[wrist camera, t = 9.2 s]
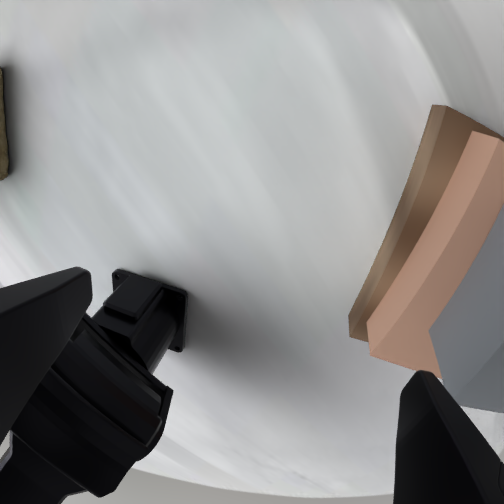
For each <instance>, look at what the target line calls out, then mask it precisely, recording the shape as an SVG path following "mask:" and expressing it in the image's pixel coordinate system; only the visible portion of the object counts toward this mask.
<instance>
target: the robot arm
mask: <svg viewBox="0 0 504 504" xmlns="http://www.w3.org/2000/svg"><path fill="white" fill-rule="evenodd" d="M118 275H119V277H118ZM112 282H113V293H112V294H111V295H110V296H109V297H108V298H107V299H106V300H105V301H104V303H103V306H102V307H101V308H100V309H99V310H98V311H97V312H96V314H95V315H94V316H93V317H92V318H91V317H90V316H89V315H88V314H87V313H86V310H87V309H88V307H89V305H90V303H91V301H92V296H93V294H92V281H91V274H90V272H89V271H88V270H86V269H83V268H81V267H73V268H70V269H66V270H62V271H59V272H55V273H52V274H48V275H45V276H41V277H38V278H34V279H31V280H27V281H24V282H20V283H17V284H14V285H10V286H7V287H4V288H0V445H1V444H2V442H3V440H4V439H5V437H6V435H7V433H8V432H9V430H10V447H9V448H8V449H7V451H6V452H5V453H4V455H3V456H2V457H1V459H0V504H61V503H62V502H63V500H64V499H65V498H66V497H67V496H69V495H74V494H78V493H82V492H86V491H89V492H90V493H92V494H94V495H95V496H97V497H103V496H105V495H107V494H109V493H112V492H114V491H115V490H116V488H117V486H118V485H119V483H120V482H121V480H122V479H123V477H124V476H125V475H126V473H127V472H128V470H129V469H130V468H131V467H132V466H133V464H134V463H135V462H136V461H139V460H141V459H143V458H144V457H146V456H147V455H148V454H149V453H150V452H151V451H152V450H153V449H154V447H155V446H156V445H157V443H158V441H159V440H160V438H161V436H162V434H163V431H164V428H165V424H166V419H167V415H168V411H169V407H170V403H171V399H172V395H173V390H172V389H171V388H170V387H168V386H165V385H164V384H163V383H162V382H161V381H159V380H158V379H157V378H156V377H155V376H153V375H152V374H153V373H154V371H155V369H156V367H157V366H158V364H159V362H160V361H161V359H162V357H163V356H164V354H165V352H166V351H167V349H170V350H172V351H175V352H182V351H183V349H184V343H185V328H186V313H187V300H188V295H187V293H186V292H185V291H184V290H182V289H179V288H176V287H172V286H169V285H166V284H163V283H160V282H156V281H153V280H150V279H147V278H144V277H141V276H138V275H135V274H132V273H129V272H126V271H123V270H120V269H116V270H115V271H114V272H113V273H112ZM179 295H181V296H182V297H183V298H181V297H180V296H179ZM393 504H504V464H503V462H500V458H499V457H498V455H497V454H496V453H495V451H494V450H493V449H492V447H491V446H490V445H489V443H488V442H487V441H486V439H485V438H484V437H483V435H482V434H481V433H480V431H479V430H478V429H477V428H476V426H475V425H474V424H473V422H472V421H471V420H470V418H469V417H468V416H467V415H466V413H465V412H464V411H463V410H462V408H461V407H460V406H459V405H458V403H457V402H456V401H455V400H454V398H453V397H452V396H451V395H450V393H449V392H448V391H447V390H446V388H445V387H444V386H443V385H442V383H441V382H440V381H439V380H438V379H437V377H436V376H435V375H434V374H433V373H432V372H430V371H425V370H418V371H417V372H416V373H415V374H414V375H413V376H412V378H411V379H410V380H409V382H408V383H407V384H406V386H405V387H404V388H403V390H402V392H401V396H400V406H399V418H398V428H397V438H396V458H395V484H394V500H393Z"/></svg>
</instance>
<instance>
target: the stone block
mask: <svg viewBox="0 0 504 504" xmlns="http://www.w3.org/2000/svg"><path fill="white" fill-rule="evenodd" d="M7 152H8V144H7V137H6V127H5V116H4V102H3V76H2V71H1V68H0V180H3V179H4V178H6V177H7V176H8V164H9V159H8V154H7Z"/></svg>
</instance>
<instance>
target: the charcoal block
mask: <svg viewBox="0 0 504 504" xmlns="http://www.w3.org/2000/svg"><path fill="white" fill-rule="evenodd" d="M428 331H429V334H430V338H431V341H432V344H433V347H434V351H435V354H436V358H437V361H438V365H439V369H440V372H441V376H442V380H443V384H444V387H445V388H446V390H447V391H448V392H449V393H450V395H451V396H452V397H453V398H454V400H455V401H456V402H457V403H458V405H460V406H465V407H470V408H476V409H481V410H487V411H493V412H499V413H504V204H503V206H502V208H501V210H500V212H499V214H498V217H497V219H496V221H495V223H494V225H493V227H492V228H491V230H490V232H489V234H488V236H487V238H486V240H485V242H484V244H483V245H482V247H481V249H480V251H479V253H478V254H477V256H476V258H475V260H474V261H473V263H472V265H471V267H470V268H469V270H468V272H467V273H466V275H465V277H464V278H463V280H462V281H461V283H460V285H459V286H458V288H457V289H456V291H455V292H454V294H453V295H452V297H451V299H450V300H449V302H448V303H447V305H446V306H445V308H444V309H443V310H442V312H441V313H440V315H439V316H438V318H437V319H436V320H435V322H434V323H433V325H432V326H431V327H430V329H429V330H428Z"/></svg>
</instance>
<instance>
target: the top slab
mask: <svg viewBox="0 0 504 504" xmlns="http://www.w3.org/2000/svg"><path fill="white" fill-rule="evenodd" d="M503 204H504V142H503V141H502V140H500V139H499V138H495V137H492V136H489V135H486V134H482V133H479V132H475V131H472V133H471V135H470V137H469V140H468V142H467V144H466V147H465V149H464V151H463V154H462V156H461V158H460V160H459V162H458V165H457V167H456V169H455V171H454V173H453V175H452V177H451V179H450V181H449V184H448V186H447V188H446V190H445V192H444V194H443V196H442V198H441V200H440V201H439V203H438V205H437V207H436V209H435V211H434V213H433V215H432V217H431V219H430V220H429V222H428V224H427V226H426V228H425V230H424V231H423V233H422V235H421V237H420V238H419V240H418V242H417V244H416V245H415V247H414V249H413V251H412V252H411V254H410V256H409V257H408V259H407V261H406V262H405V264H404V266H403V267H402V269H401V271H400V272H399V274H398V275H397V277H396V279H395V280H394V282H393V283H392V285H391V286H390V288H389V290H388V291H387V293H386V294H385V296H384V297H383V299H382V300H381V302H380V303H379V305H378V306H377V308H376V309H375V311H374V312H373V314H372V315H371V317H370V318H369V319H368V321H367V322H366V323H367V331H368V340H369V349H370V356H373V357H376V358H379V359H382V360H385V361H388V362H391V363H394V364H397V365H400V366H403V367H406V368H409V369H412V370H416V371H418V370H425V371H430V372H432V373H433V374H434V375H435V376H436V377H438V378H441V379H442V376H441V372H440V369H439V365H438V361H437V358H436V354H435V351H434V347H433V344H432V341H431V338H430V334H429V331H428V330H429V329H430V327H431V326H432V325H433V323H434V322H435V320H436V319H437V318H438V316H439V315H440V313H441V312H442V310H443V309H444V308H445V306H446V305H447V303H448V302H449V300H450V299H451V297H452V295H453V294H454V292H455V291H456V289H457V288H458V286H459V285H460V283H461V281H462V280H463V278H464V277H465V275H466V273H467V272H468V270H469V268H470V267H471V265H472V263H473V261H474V260H475V258H476V256H477V254H478V253H479V251H480V249H481V247H482V245H483V244H484V242H485V240H486V238H487V236H488V234H489V232H490V230H491V228H492V227H493V225H494V223H495V221H496V219H497V217H498V214H499V212H500V210H501V208H502V206H503Z"/></svg>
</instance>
